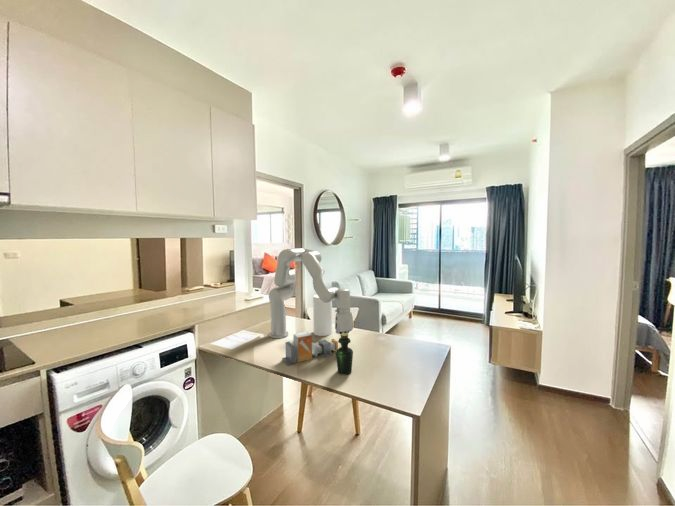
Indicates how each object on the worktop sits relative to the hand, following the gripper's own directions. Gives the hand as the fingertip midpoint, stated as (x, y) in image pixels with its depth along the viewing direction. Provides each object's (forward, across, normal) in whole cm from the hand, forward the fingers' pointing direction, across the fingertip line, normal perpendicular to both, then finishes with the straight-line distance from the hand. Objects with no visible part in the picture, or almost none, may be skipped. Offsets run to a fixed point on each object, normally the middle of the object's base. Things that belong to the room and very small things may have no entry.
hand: (344, 342), depth 162 cm
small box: (+4, -26, 0) cm, 26 cm away
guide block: (+4, -13, 0) cm, 13 cm away
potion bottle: (+4, -15, -24) cm, 28 cm away
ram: (+3, -13, 0) cm, 13 cm away
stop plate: (+4, -33, 0) cm, 33 cm away
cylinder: (+4, +2, +30) cm, 31 cm away
